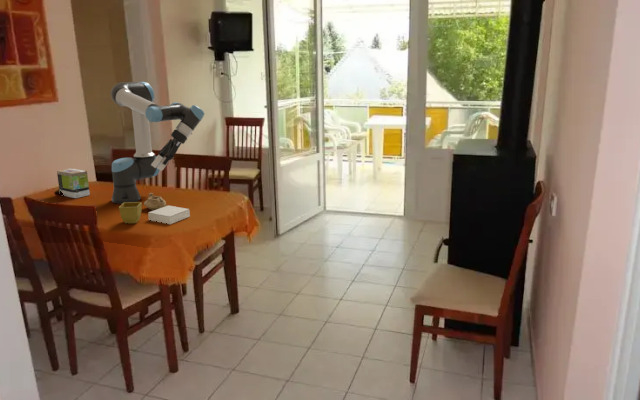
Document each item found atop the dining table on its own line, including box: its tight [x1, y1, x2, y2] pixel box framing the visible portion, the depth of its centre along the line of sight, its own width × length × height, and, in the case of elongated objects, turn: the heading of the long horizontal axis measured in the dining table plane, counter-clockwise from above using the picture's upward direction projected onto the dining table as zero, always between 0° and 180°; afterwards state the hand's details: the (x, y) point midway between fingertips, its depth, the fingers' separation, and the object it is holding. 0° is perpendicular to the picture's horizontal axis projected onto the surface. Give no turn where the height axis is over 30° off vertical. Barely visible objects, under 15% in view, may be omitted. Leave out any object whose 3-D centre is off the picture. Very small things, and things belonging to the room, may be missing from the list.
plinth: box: [147, 205, 191, 225], centre depth 252 cm, size 14×14×4 cm
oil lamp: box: [143, 192, 167, 211], centre depth 267 cm, size 11×15×8 cm
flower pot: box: [118, 201, 143, 224], centre depth 246 cm, size 9×9×9 cm
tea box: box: [56, 167, 91, 199], centre depth 293 cm, size 15×10×15 cm, turn 58°
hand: (156, 168), depth 247 cm, fingers open, 13 cm apart
